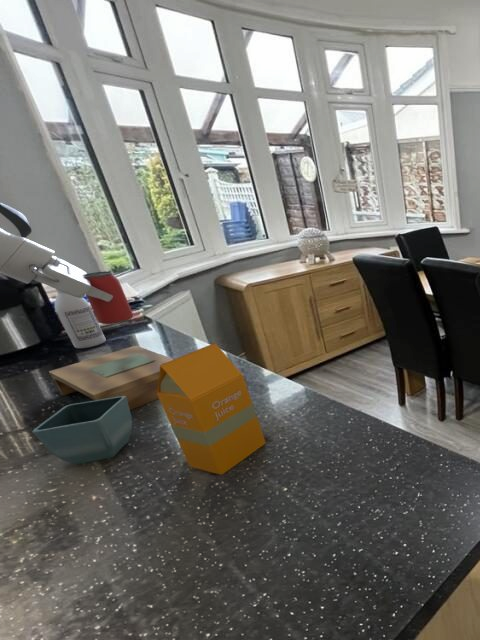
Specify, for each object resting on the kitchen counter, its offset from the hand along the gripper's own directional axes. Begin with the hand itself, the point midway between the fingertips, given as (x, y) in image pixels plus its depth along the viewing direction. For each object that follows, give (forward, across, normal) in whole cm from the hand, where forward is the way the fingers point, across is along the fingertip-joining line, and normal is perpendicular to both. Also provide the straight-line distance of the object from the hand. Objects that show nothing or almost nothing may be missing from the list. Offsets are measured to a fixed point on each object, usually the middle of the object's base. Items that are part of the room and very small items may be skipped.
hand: (109, 295), depth 97 cm
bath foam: (+8, +31, +20) cm, 37 cm away
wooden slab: (+11, -16, +16) cm, 25 cm away
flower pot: (+7, -44, +20) cm, 49 cm away
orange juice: (+18, -62, +9) cm, 65 cm away
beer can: (+4, 0, +5) cm, 7 cm away
